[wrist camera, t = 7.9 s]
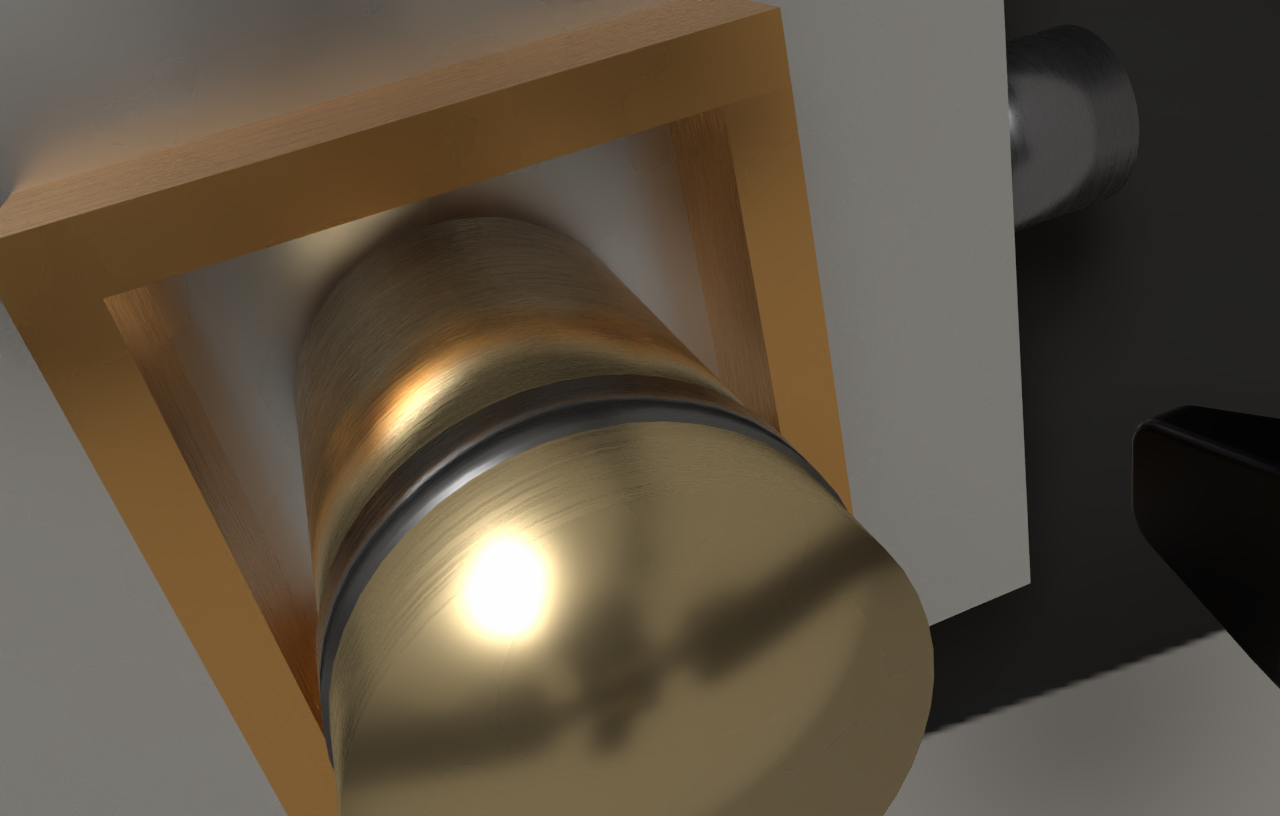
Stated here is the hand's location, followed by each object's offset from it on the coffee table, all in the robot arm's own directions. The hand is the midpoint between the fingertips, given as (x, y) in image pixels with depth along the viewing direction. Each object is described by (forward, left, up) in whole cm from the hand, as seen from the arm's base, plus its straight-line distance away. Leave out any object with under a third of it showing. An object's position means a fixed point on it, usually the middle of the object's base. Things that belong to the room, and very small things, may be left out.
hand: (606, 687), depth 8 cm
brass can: (0, +1, -7) cm, 7 cm away
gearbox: (-2, +1, -12) cm, 12 cm away
